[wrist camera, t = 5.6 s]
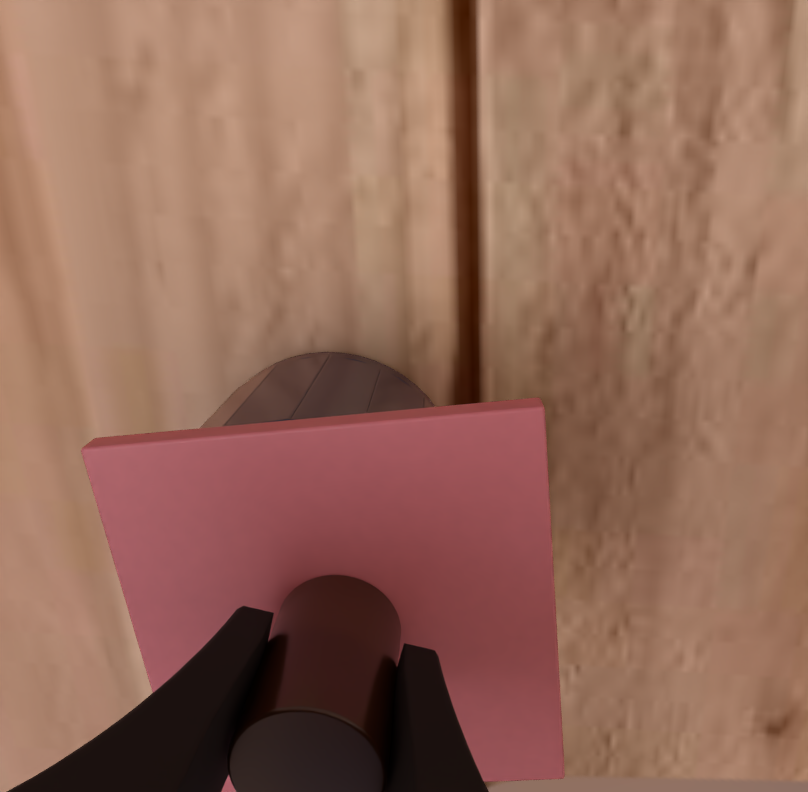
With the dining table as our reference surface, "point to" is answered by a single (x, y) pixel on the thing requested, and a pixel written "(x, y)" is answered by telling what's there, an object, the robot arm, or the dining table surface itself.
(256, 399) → the dark faceted cylinder
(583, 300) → the dining table surface
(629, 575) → the dining table surface
